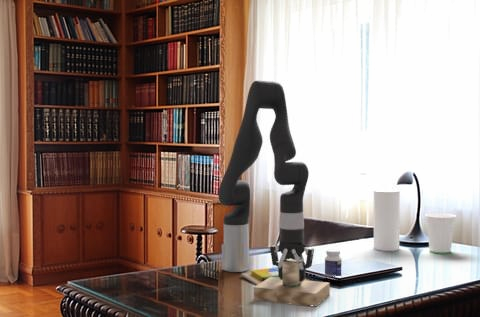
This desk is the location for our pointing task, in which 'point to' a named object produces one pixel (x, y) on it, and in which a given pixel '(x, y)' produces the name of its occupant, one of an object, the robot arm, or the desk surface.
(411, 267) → the desk surface
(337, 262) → the pill bottle
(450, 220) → the cup
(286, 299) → the oak board
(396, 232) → the tall pillar cylinder
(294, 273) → the maple peg
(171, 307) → the desk surface
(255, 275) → the wooden puzzle
